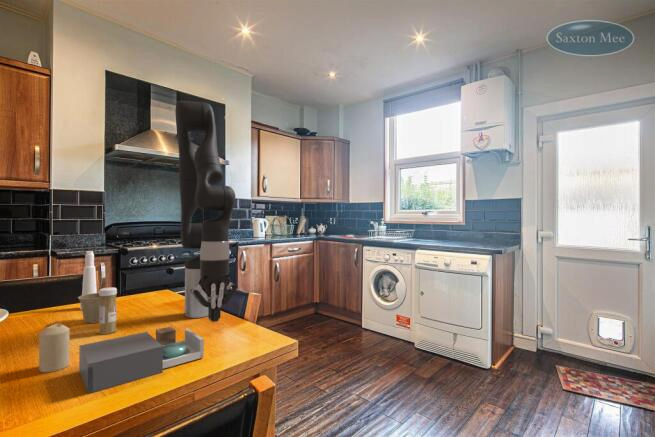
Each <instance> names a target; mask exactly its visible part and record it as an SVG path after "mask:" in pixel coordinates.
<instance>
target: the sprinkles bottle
mask: <svg viewBox="0 0 655 437" xmlns="http://www.w3.org/2000/svg"><path fill="white" fill-rule="evenodd" d="M98 291H99V292H98V293H99V296H100V306H99V308H100V311H99V322H98V323H99V332H98V333H99V334H100V335H110V334H113V333H115V332H116V331H117V294H118V289H117V287H103V288H100V289H99V290H98Z"/></svg>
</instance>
